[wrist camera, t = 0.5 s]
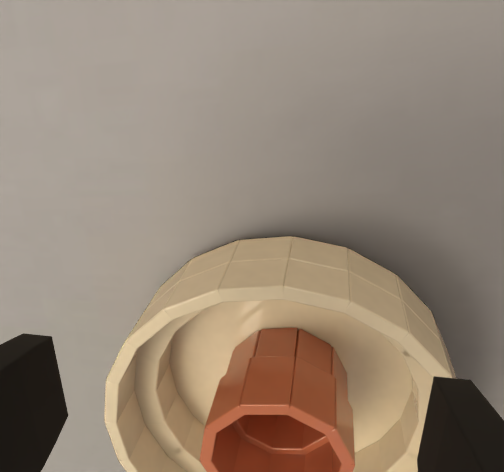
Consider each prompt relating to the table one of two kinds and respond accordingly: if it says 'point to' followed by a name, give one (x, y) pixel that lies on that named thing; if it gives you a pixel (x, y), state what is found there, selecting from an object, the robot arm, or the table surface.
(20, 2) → the table surface
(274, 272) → the cream bowl
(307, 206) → the table surface
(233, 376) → the terracotta pot
